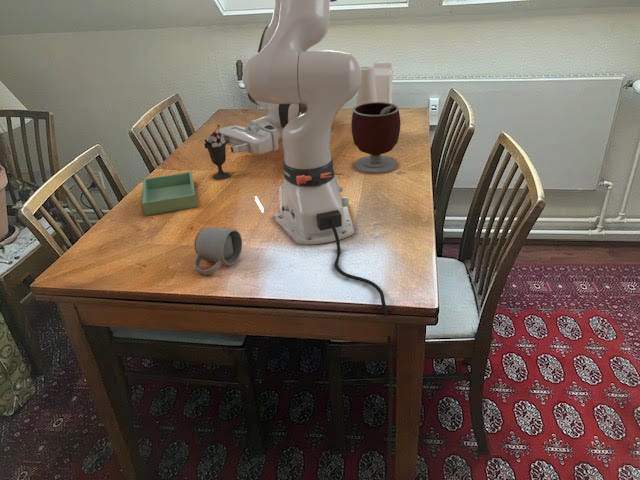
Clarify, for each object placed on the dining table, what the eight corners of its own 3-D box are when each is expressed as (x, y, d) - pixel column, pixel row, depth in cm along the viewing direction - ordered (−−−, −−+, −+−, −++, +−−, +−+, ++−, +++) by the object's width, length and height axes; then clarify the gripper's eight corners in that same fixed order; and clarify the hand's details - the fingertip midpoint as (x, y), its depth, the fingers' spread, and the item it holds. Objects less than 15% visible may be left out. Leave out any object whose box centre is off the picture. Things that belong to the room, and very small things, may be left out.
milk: (375, 124, 189) (375, 61, 178) (392, 125, 187) (392, 61, 176) (371, 130, 184) (371, 65, 173) (389, 130, 182) (389, 65, 171)
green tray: (197, 206, 139) (195, 194, 137) (145, 215, 136) (142, 203, 134) (193, 182, 153) (191, 171, 151) (145, 190, 150) (143, 178, 148)
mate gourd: (343, 163, 159) (341, 97, 149) (382, 153, 165) (383, 88, 154) (371, 180, 147) (371, 110, 137) (412, 169, 152) (414, 100, 142)
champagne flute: (380, 143, 172) (381, 68, 160) (362, 147, 170) (361, 71, 158) (371, 137, 177) (371, 64, 165) (353, 141, 175) (351, 67, 163)
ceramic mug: (214, 247, 120) (208, 218, 116) (245, 253, 117) (240, 223, 113) (186, 273, 112) (179, 242, 108) (219, 280, 109) (212, 249, 105)
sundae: (234, 171, 158) (227, 122, 151) (229, 180, 153) (221, 130, 145) (213, 171, 159) (205, 123, 152) (207, 180, 153) (198, 131, 146)
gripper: (237, 117, 166) (200, 129, 158) (280, 130, 153) (242, 143, 145) (239, 137, 169) (203, 149, 161) (282, 150, 156) (245, 165, 148)
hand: (222, 146), depth 153 cm, fingers open, 8 cm apart
